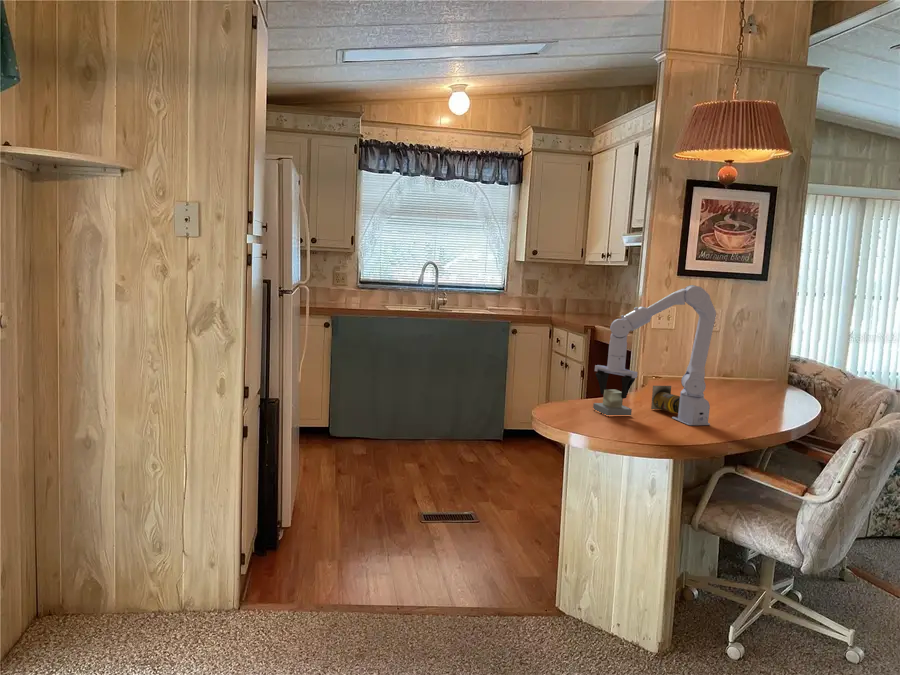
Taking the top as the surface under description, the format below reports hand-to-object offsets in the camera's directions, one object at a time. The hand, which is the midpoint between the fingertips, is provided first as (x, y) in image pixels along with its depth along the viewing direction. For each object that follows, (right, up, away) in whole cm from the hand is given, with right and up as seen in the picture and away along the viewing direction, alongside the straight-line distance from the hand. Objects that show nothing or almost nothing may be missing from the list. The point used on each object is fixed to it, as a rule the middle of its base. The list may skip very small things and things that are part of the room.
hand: (613, 395), depth 224 cm
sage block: (0, -3, 0) cm, 3 cm away
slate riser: (0, -6, +1) cm, 6 cm away
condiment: (+19, -2, +11) cm, 22 cm away
